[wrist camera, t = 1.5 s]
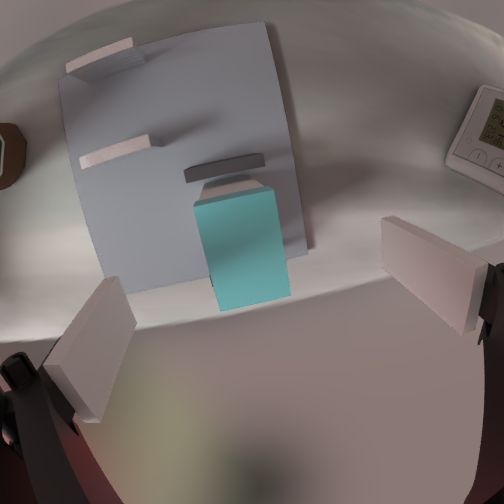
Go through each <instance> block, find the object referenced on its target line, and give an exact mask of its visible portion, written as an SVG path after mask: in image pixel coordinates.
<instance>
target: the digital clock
mask: <svg viewBox="0 0 504 504" xmlns="http://www.w3.org/2000/svg"><path fill="white" fill-rule="evenodd" d="M445 164H446V166H447V167H448V168H449V169H451V170H453V171H455V172H457V173H459V174H461V175H463V176H466V177H468V178H470V179H472V180H474V181H476V182H478V183H480V184H482V185H484V186H486V187H488V188H490V189H492V190H494V191H496V192H497V193H499V194H501V195H503V196H504V90H503V89H500V88H496V87H493V86H489V85H481V86H480V87H479V89H478V91H477V93H476V96H475V98H474V100H473V102H472V104H471V106H470V108H469V110H468V112H467V115H466V117H465V119H464V121H463V123H462V125H461V127H460V129H459V131H458V133H457V135H456V137H455V139H454V141H453V143H452V145H451V147H450V149H449V151H448V153H447V155H446V158H445Z"/></svg>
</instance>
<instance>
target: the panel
mask: <svg viewBox="0 0 504 504" xmlns="http://www.w3.org/2000/svg"><path fill="white" fill-rule="evenodd" d="M139 47H140V48H141V49H142V51H143V52H144V53H145V55H146V61H147V63H146V64H143V65H140V66H137V67H134V68H131V69H128V70H125V71H122V72H119V73H116V74H114V75H111V76H108V77H106V78H103V79H101V80H98V81H96V82H93V83H91V84H88V83H86V82H84V81H82V80H79V79H77V78H75V77H73V76H71V75H69V74H67V75H65V76H63V77H61V78H59V79H58V82H59V92H60V101H61V109H62V116H63V123H64V129H65V135H66V141H67V146H68V151H69V156H70V161H71V166H72V170H73V175H74V179H75V183H76V187H77V191H78V195H79V199H80V202H81V206H82V210H83V213H84V217H85V220H86V223H87V227H88V230H89V233H90V236H91V239H92V242H93V245H94V248H95V251H96V254H97V257H98V260H99V263H100V265H101V268H102V271H103V273H104V276H105V278H109V277H113V276H118V278H119V280H120V283H121V286H122V288H123V291H124V293H125V294H130V293H135V292H140V291H145V290H149V289H154V288H159V287H164V286H168V285H173V284H178V283H182V282H187V281H192V280H196V279H201V278H205V277H210V272H209V269H208V265H207V261H206V257H205V253H204V250H203V246H202V242H201V238H200V234H199V230H198V226H197V222H196V218H195V214H194V210H193V206H194V203H195V201H198V200H199V197H200V194H201V191H202V189H203V186H204V184H205V183H209V182H214V181H218V180H223V179H227V178H232V177H237V176H242V175H246V174H248V175H249V176H251V177H252V178H253V179H255V180H256V181H258V182H259V183H260V184H262V185H263V186H269V187H270V188H272V189H273V190H274V194H275V199H276V205H277V211H278V217H279V222H280V228H281V234H282V241H283V247H284V253H285V259H290V258H295V257H299V256H303V255H308V250H307V243H306V235H305V228H304V221H303V214H302V207H301V200H300V194H299V187H298V181H297V175H296V169H295V163H294V157H293V152H292V146H291V141H290V135H289V130H288V125H287V120H286V114H285V109H284V105H283V100H282V95H281V90H280V85H279V81H278V76H277V72H276V67H275V63H274V59H273V54H272V50H271V46H270V42H269V38H268V34H267V30H266V26H265V22H254V23H244V24H236V25H229V26H222V27H216V28H210V29H205V30H200V31H195V32H190V33H185V34H181V35H177V36H173V37H169V38H165V39H161V40H158V41H154V42H151V43H147V44H144V45H141V46H139ZM146 134H150V135H154V136H158V137H160V138H161V142H162V148H158V149H155V150H151V151H148V152H145V153H141V154H138V155H135V156H131V157H128V158H125V159H122V160H119V161H116V162H113V163H110V164H107V165H104V166H99V167H93V168H88V169H81V165H80V160H79V158H80V157H82V156H85V155H87V154H90V153H92V152H95V151H98V150H101V149H103V148H106V147H109V146H112V145H115V144H118V143H121V142H124V141H127V140H130V139H133V138H136V137H139V136H143V135H146ZM253 153H263V154H264V160H265V165H266V166H265V167H260V168H255V169H250V170H245V171H240V172H235V173H230V174H225V175H221V176H216V177H212V178H207V179H203V180H199V181H195V182H190V183H186V180H185V176H184V172H183V170H185V169H187V168H189V167H192V166H196V165H200V164H205V163H209V162H214V161H218V160H223V159H227V158H232V157H237V156H242V155H247V154H253Z"/></svg>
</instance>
